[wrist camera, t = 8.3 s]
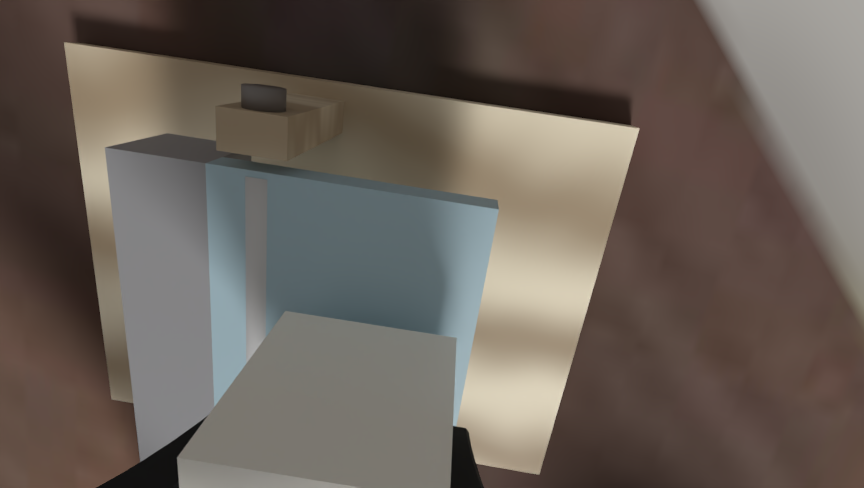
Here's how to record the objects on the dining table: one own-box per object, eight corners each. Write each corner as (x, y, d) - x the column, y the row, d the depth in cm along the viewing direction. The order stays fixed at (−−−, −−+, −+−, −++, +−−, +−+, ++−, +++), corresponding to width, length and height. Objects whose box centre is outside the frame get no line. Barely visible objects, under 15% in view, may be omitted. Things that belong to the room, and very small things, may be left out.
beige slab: (536, 458, 25) (557, 596, 18) (124, 387, 25) (8, 494, 19) (631, 124, 18) (711, 157, 12) (84, 43, 19) (-110, 33, 13)
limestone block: (432, 469, 16) (415, 670, 10) (281, 444, 16) (189, 632, 10) (456, 337, 14) (449, 501, 9) (285, 310, 14) (177, 457, 9)
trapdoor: (442, 461, 21) (437, 525, 18) (185, 415, 21) (139, 471, 18) (495, 184, 16) (499, 210, 13) (167, 133, 17) (102, 148, 14)
